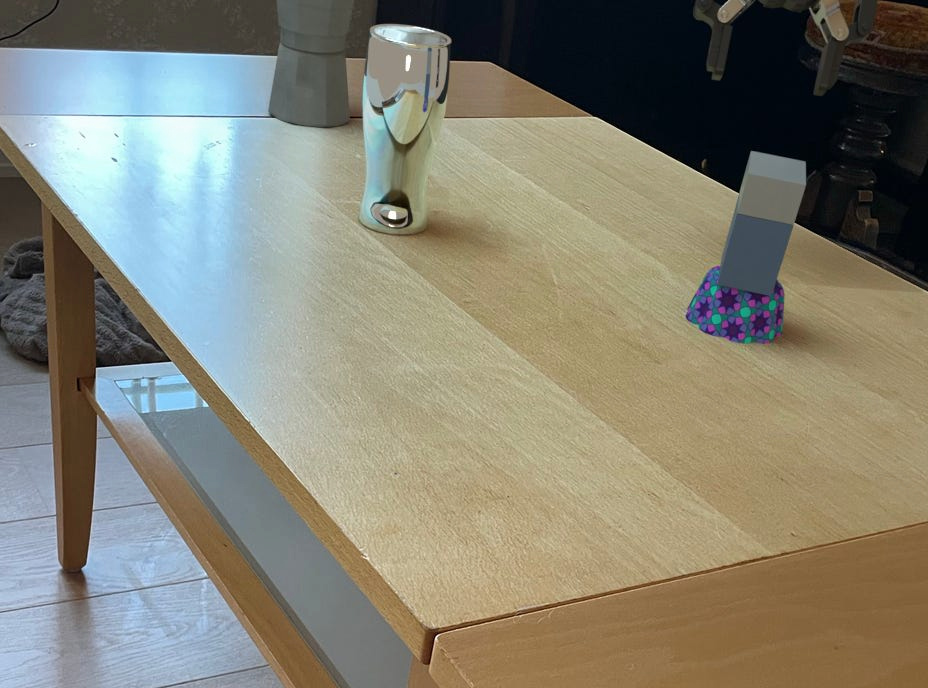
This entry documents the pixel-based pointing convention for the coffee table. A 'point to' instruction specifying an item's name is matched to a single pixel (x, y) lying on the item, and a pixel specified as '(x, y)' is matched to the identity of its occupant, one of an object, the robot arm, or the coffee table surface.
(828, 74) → the robot arm
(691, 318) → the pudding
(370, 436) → the coffee table surface
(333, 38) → the coffeepot
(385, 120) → the beer glass
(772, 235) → the block
